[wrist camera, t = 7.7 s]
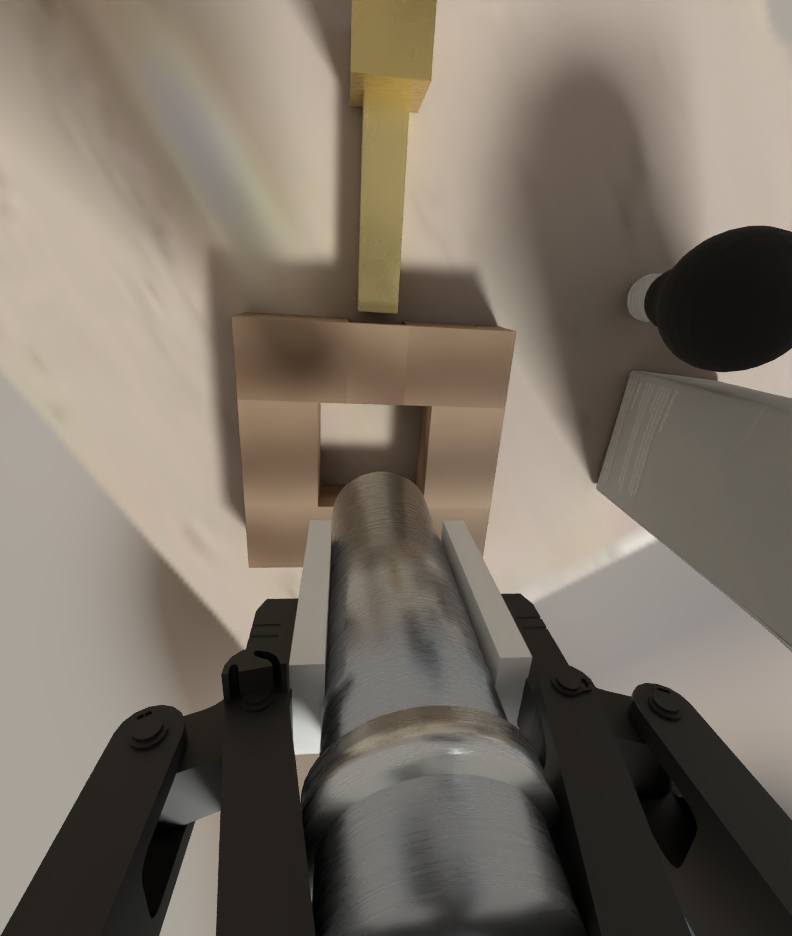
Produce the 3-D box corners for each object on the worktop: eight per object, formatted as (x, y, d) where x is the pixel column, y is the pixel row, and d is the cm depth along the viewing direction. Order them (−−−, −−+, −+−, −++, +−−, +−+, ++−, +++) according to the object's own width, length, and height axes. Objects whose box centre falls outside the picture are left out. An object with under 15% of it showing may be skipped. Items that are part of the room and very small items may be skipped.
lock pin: (351, 23, 20) (352, -30, 17) (422, 32, 21) (438, -18, 17) (346, 308, 25) (346, 313, 21) (405, 311, 25) (414, 317, 22)
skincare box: (675, 496, 32) (956, 679, 17) (580, 486, 31) (792, 672, 16) (725, 373, 29) (1117, 469, 14) (620, 358, 28) (927, 445, 13)
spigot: (325, 463, 18) (278, 894, 5) (439, 465, 19) (644, 862, 6) (324, 562, 20) (289, 1073, 7) (429, 561, 21) (574, 1035, 8)
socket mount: (244, 312, 25) (231, 316, 22) (498, 326, 26) (516, 331, 23) (257, 541, 30) (249, 567, 27) (469, 540, 31) (481, 565, 29)
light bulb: (669, 353, 28) (830, 388, 19) (578, 345, 27) (698, 379, 18) (701, 245, 26) (900, 226, 17) (603, 234, 25) (754, 207, 16)
